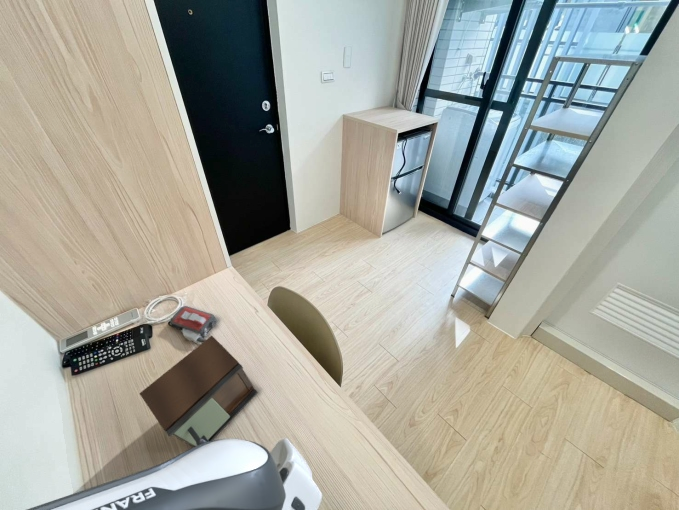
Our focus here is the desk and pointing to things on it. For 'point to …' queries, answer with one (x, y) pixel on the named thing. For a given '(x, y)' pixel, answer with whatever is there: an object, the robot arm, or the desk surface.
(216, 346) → the cupboard
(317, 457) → the desk surface
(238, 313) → the desk surface
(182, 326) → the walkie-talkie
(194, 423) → the door
